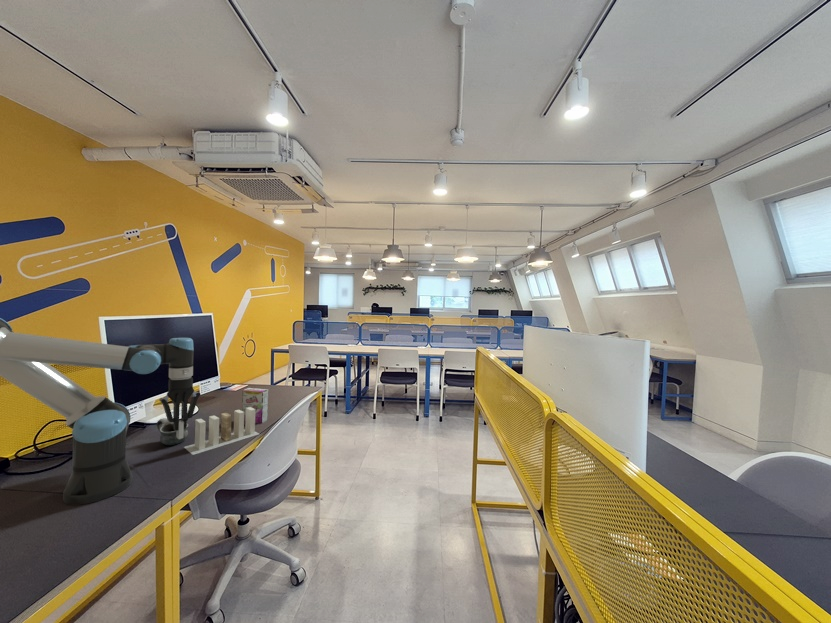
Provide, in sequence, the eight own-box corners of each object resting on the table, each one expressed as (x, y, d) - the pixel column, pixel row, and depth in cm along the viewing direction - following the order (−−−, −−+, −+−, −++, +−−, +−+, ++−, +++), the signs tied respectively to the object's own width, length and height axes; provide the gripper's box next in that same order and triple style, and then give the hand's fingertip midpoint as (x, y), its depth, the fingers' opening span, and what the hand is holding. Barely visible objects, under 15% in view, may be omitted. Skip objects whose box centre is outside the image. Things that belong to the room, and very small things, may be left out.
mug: (176, 449, 124) (176, 424, 124) (145, 447, 124) (145, 423, 124) (193, 438, 134) (194, 416, 134) (164, 437, 134) (165, 414, 134)
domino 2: (213, 445, 127) (214, 419, 127) (208, 442, 130) (209, 416, 130) (218, 444, 129) (219, 418, 129) (213, 440, 132) (214, 415, 132)
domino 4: (250, 434, 140) (251, 410, 139) (245, 431, 142) (245, 407, 142) (254, 433, 141) (255, 409, 141) (249, 430, 144) (250, 406, 144)
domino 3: (238, 438, 135) (239, 413, 135) (233, 434, 138) (234, 410, 138) (243, 436, 137) (244, 412, 137) (238, 433, 140) (238, 409, 140)
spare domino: (225, 442, 131) (226, 416, 131) (220, 438, 134) (221, 413, 134) (230, 440, 133) (231, 415, 133) (225, 437, 136) (226, 412, 136)
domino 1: (199, 450, 123) (200, 423, 123) (194, 446, 126) (195, 419, 126) (205, 448, 125) (205, 421, 125) (200, 444, 128) (200, 418, 128)
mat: (192, 455, 119) (192, 454, 119) (183, 448, 125) (183, 447, 125) (259, 434, 140) (259, 433, 140) (249, 428, 146) (249, 428, 146)
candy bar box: (240, 422, 153) (241, 390, 153) (247, 418, 158) (248, 387, 158) (262, 424, 152) (263, 391, 152) (267, 420, 157) (268, 388, 157)
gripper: (163, 382, 112) (162, 446, 112) (204, 376, 122) (202, 435, 123) (156, 378, 116) (155, 440, 117) (196, 373, 127) (195, 429, 127)
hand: (179, 437), depth 120 cm, fingers closed
